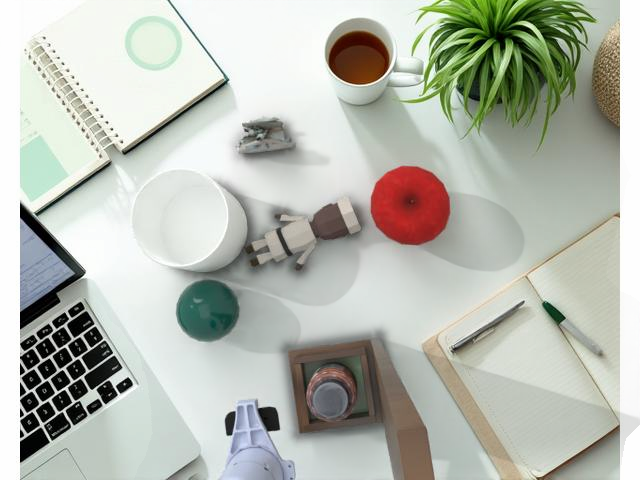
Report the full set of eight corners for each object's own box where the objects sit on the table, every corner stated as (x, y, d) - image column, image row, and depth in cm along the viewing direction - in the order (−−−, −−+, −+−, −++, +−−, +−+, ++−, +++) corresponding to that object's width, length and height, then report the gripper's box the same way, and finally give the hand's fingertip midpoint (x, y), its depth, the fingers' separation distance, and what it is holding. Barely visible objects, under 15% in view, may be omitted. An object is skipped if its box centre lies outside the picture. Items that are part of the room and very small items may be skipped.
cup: (180, 174, 84) (151, 154, 72) (259, 202, 83) (243, 185, 71) (150, 255, 84) (115, 248, 72) (230, 284, 83) (208, 281, 71)
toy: (263, 285, 83) (367, 243, 82) (256, 285, 78) (365, 240, 77) (241, 229, 84) (343, 187, 83) (233, 226, 79) (341, 181, 78)
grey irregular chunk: (297, 150, 84) (292, 136, 77) (239, 157, 84) (229, 145, 77) (294, 119, 84) (288, 103, 77) (236, 127, 85) (225, 112, 78)
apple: (454, 234, 81) (468, 224, 71) (386, 261, 82) (390, 255, 71) (425, 165, 82) (435, 145, 72) (358, 192, 83) (358, 176, 72)
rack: (391, 420, 80) (472, 712, 23) (299, 432, 80) (162, 747, 24) (379, 337, 81) (426, 427, 24) (288, 350, 81) (131, 467, 25)
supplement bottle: (303, 373, 80) (294, 386, 69) (345, 354, 80) (343, 363, 69) (323, 416, 79) (317, 436, 68) (365, 397, 79) (366, 413, 68)
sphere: (188, 342, 82) (169, 347, 74) (183, 282, 83) (165, 281, 75) (247, 337, 82) (235, 341, 74) (242, 277, 83) (230, 274, 75)
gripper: (301, 568, 56) (310, 511, 69) (279, 407, 57) (293, 381, 70) (224, 577, 56) (248, 519, 70) (204, 417, 57) (232, 390, 71)
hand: (266, 450), depth 70 cm, fingers open, 7 cm apart
